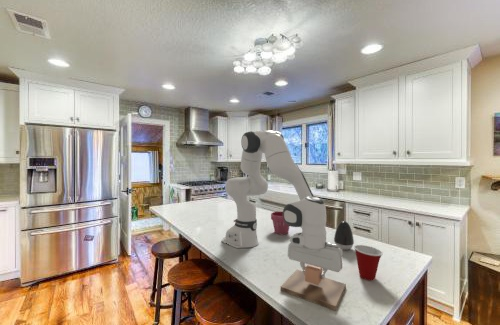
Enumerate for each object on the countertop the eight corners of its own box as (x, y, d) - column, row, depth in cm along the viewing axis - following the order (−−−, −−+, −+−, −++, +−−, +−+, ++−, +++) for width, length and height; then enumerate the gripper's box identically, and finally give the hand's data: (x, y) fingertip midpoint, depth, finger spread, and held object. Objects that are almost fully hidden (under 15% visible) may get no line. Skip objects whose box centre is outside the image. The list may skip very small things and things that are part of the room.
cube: (304, 281, 85) (305, 267, 85) (309, 275, 89) (309, 262, 89) (318, 285, 82) (318, 271, 82) (322, 279, 86) (322, 266, 86)
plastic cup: (388, 283, 90) (389, 253, 90) (363, 284, 89) (363, 254, 89) (371, 270, 101) (372, 243, 101) (348, 271, 100) (349, 244, 100)
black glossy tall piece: (334, 250, 123) (334, 222, 123) (333, 243, 133) (334, 218, 132) (354, 253, 119) (354, 224, 119) (352, 246, 129) (353, 219, 129)
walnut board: (280, 290, 85) (280, 286, 85) (296, 272, 98) (296, 269, 98) (335, 310, 74) (335, 306, 74) (345, 287, 87) (345, 283, 87)
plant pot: (266, 231, 154) (266, 213, 154) (280, 227, 163) (280, 210, 163) (282, 237, 143) (282, 217, 143) (296, 232, 152) (296, 213, 152)
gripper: (344, 243, 82) (344, 280, 83) (292, 232, 94) (292, 265, 94) (340, 248, 77) (340, 288, 77) (286, 237, 89) (285, 271, 89)
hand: (313, 276), depth 86 cm, fingers closed on cube, 5 cm apart
